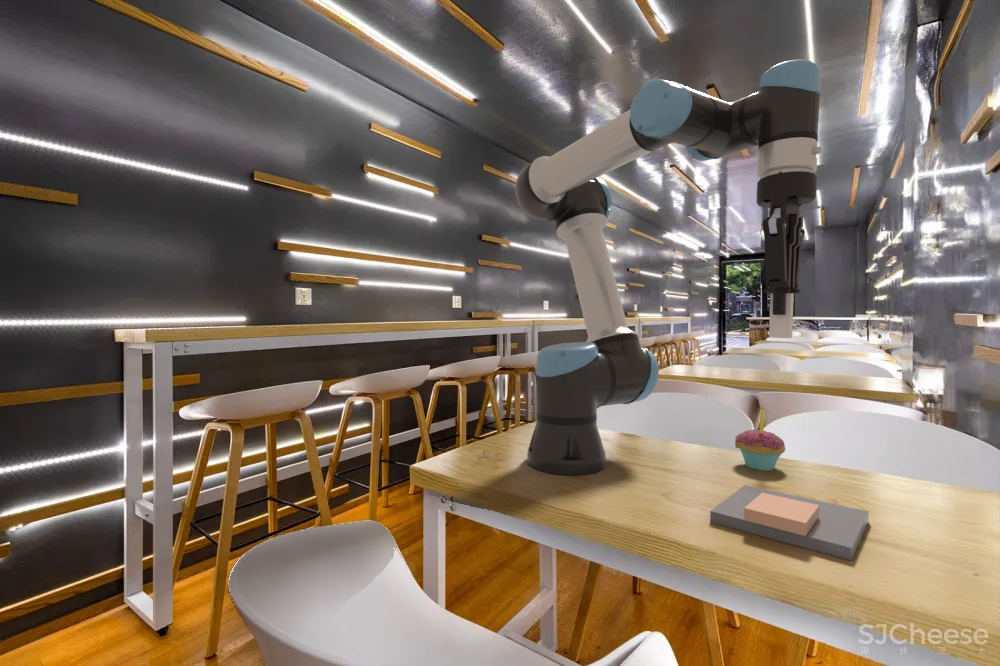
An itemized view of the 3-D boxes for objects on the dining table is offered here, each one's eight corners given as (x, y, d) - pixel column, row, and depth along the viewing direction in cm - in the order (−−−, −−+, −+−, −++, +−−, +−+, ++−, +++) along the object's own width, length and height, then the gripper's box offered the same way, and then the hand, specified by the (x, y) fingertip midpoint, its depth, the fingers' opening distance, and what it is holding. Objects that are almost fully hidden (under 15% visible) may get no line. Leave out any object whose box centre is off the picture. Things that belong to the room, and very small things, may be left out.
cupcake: (792, 475, 88) (793, 409, 88) (741, 472, 90) (742, 408, 89) (775, 462, 96) (776, 402, 96) (729, 459, 98) (729, 400, 98)
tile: (761, 504, 70) (744, 521, 64) (761, 492, 70) (744, 508, 64) (819, 518, 65) (805, 537, 59) (819, 505, 65) (805, 523, 59)
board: (710, 521, 67) (710, 511, 67) (744, 494, 78) (744, 484, 78) (851, 560, 56) (851, 547, 56) (868, 522, 67) (868, 511, 67)
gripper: (805, 160, 64) (798, 340, 64) (826, 180, 73) (819, 337, 74) (744, 171, 69) (738, 337, 70) (770, 189, 78) (765, 335, 79)
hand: (780, 337), depth 72 cm, fingers closed
